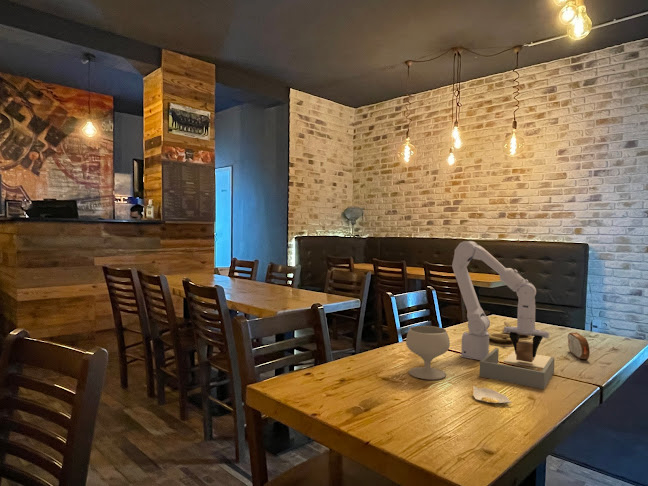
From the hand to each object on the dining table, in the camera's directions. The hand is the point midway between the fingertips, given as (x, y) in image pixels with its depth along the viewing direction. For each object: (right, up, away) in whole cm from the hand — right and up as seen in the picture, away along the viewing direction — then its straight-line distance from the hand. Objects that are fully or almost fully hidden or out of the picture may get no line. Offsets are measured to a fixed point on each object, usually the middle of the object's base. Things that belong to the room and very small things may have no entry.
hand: (525, 355), depth 152 cm
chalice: (-38, -4, -11) cm, 40 cm away
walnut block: (0, -2, 0) cm, 2 cm away
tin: (+25, -4, +11) cm, 28 cm away
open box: (-7, -4, -10) cm, 13 cm away
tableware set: (+9, -4, +36) cm, 38 cm away
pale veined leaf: (-25, -5, -32) cm, 41 cm away
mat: (+4, -3, +6) cm, 8 cm away
